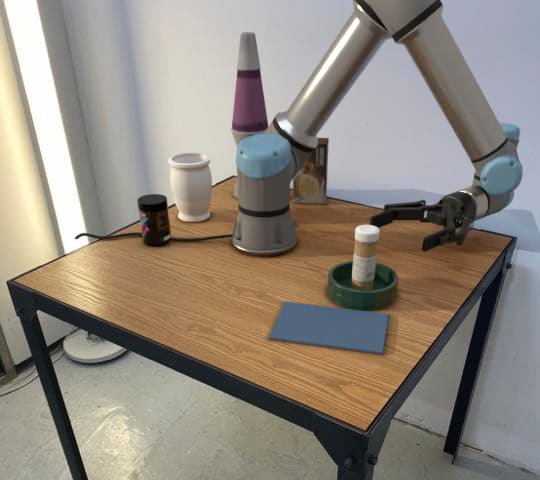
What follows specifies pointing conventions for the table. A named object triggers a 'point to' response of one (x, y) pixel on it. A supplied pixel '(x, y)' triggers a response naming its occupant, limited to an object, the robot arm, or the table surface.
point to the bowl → (360, 299)
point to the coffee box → (313, 176)
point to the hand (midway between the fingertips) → (396, 233)
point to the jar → (191, 185)
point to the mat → (331, 327)
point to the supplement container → (154, 219)
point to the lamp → (248, 94)
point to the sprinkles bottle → (364, 257)
